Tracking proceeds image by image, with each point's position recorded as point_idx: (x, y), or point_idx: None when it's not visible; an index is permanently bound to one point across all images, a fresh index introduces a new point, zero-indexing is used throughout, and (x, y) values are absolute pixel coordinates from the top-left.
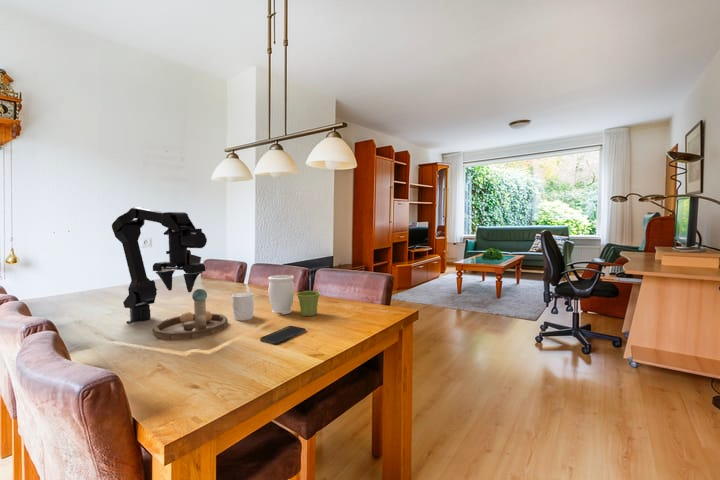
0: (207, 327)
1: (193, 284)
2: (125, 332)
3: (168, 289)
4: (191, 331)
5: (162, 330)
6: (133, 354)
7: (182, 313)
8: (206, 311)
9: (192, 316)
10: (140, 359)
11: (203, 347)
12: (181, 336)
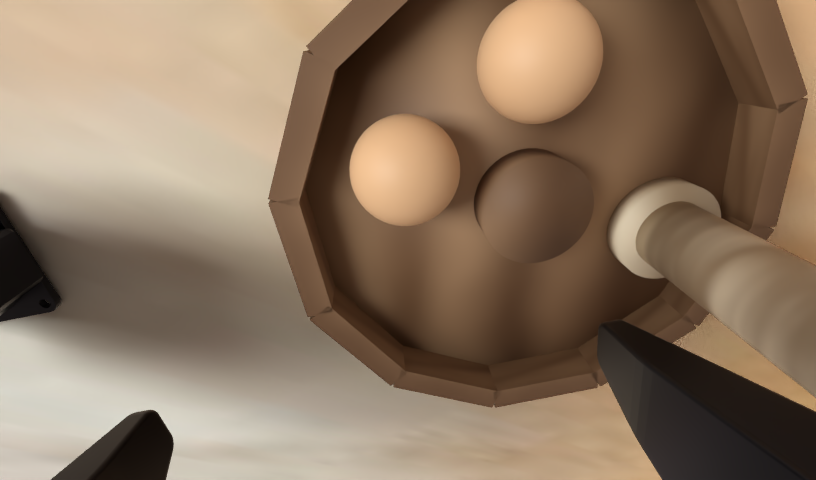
0: (694, 192)
1: (777, 406)
2: (187, 391)
3: (162, 468)
4: (688, 318)
5: (393, 315)
6: (537, 462)
7: (392, 215)
8: (582, 67)
9: (455, 149)
10: (605, 465)
11: None
12: None
